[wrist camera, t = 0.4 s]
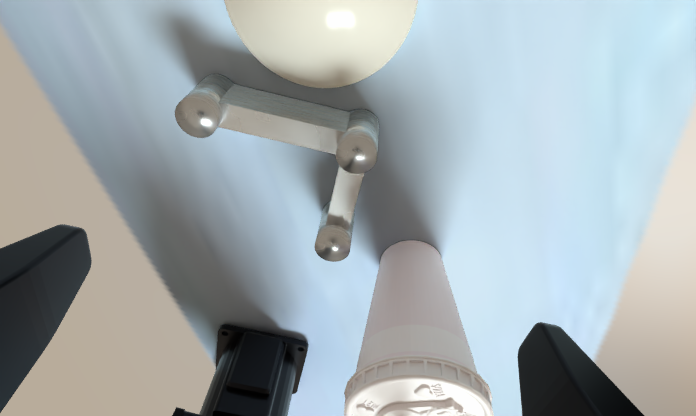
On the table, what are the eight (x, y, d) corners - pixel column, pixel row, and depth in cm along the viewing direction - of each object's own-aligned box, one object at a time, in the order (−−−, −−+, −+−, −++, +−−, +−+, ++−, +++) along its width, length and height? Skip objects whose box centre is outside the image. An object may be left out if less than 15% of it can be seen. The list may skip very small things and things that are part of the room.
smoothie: (336, 257, 26) (292, 527, 15) (421, 202, 24) (444, 486, 12) (402, 313, 29) (407, 582, 18) (487, 270, 26) (556, 559, 15)
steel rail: (350, 228, 25) (345, 264, 23) (199, 194, 25) (177, 227, 22) (383, 113, 21) (381, 142, 18) (201, 70, 20) (174, 93, 18)
